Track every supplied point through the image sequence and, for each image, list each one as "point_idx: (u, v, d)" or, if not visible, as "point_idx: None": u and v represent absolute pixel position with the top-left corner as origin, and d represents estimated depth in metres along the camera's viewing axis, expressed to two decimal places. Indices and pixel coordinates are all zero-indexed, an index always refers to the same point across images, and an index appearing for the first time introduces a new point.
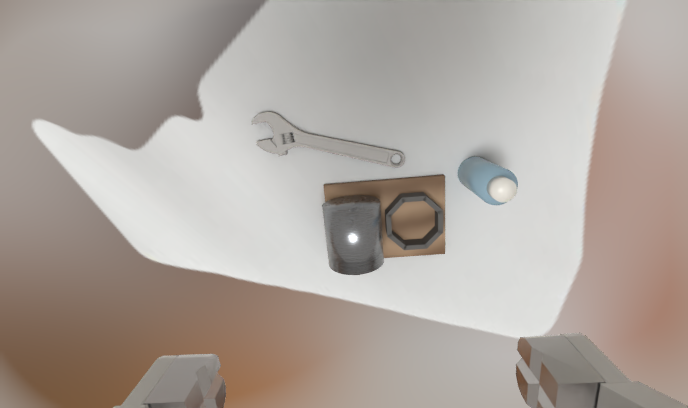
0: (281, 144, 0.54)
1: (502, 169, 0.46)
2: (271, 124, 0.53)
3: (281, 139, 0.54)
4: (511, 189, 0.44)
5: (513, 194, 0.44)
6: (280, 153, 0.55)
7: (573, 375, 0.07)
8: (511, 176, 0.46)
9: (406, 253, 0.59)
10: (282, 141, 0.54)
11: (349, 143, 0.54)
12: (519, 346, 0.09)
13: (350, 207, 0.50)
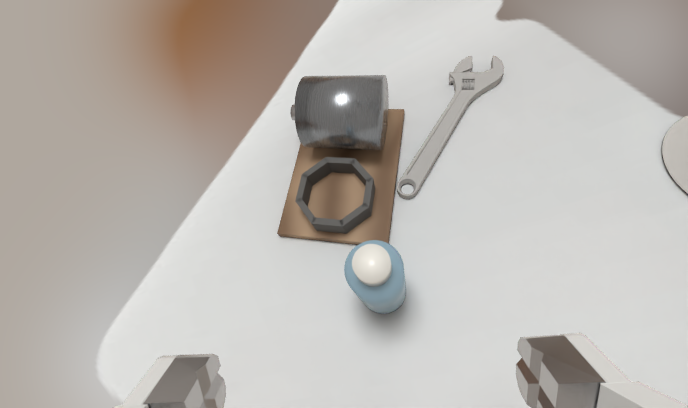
0: (462, 77, 0.48)
1: (400, 277, 0.29)
2: (488, 72, 0.47)
3: (468, 78, 0.47)
4: (370, 273, 0.27)
5: (361, 275, 0.27)
6: (452, 74, 0.48)
7: (573, 375, 0.07)
8: (386, 289, 0.28)
9: (293, 186, 0.45)
10: (465, 79, 0.48)
11: (444, 140, 0.44)
12: (519, 346, 0.09)
13: (382, 100, 0.40)
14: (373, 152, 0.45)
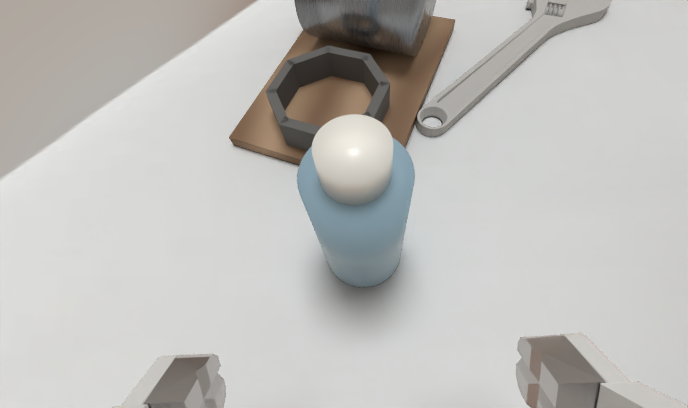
0: None
1: (404, 198, 0.14)
2: (588, 0, 0.32)
3: (556, 3, 0.33)
4: (346, 164, 0.13)
5: (325, 165, 0.13)
6: None
7: (573, 375, 0.07)
8: (370, 215, 0.14)
9: None
10: (552, 4, 0.33)
11: (503, 69, 0.29)
12: (519, 346, 0.09)
13: None
14: (398, 62, 0.31)
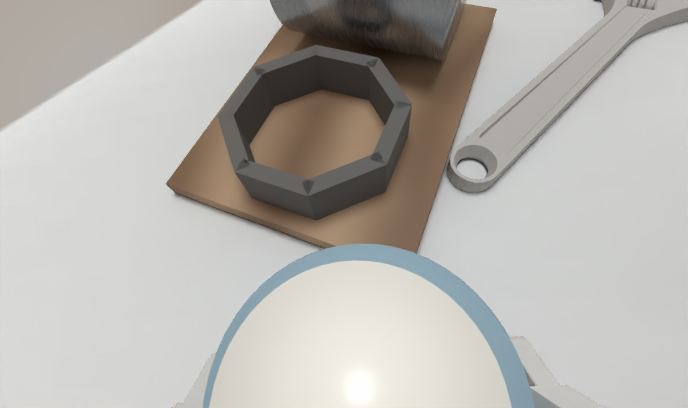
0: None
1: None
2: None
3: None
4: None
5: None
6: None
7: None
8: None
9: None
10: None
11: (578, 87, 0.19)
12: None
13: None
14: (419, 69, 0.21)
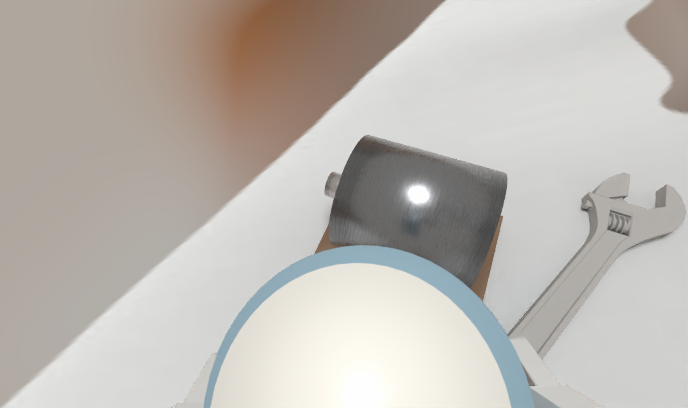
0: (610, 207, 0.29)
1: None
2: (657, 212, 0.28)
3: (619, 212, 0.29)
4: None
5: None
6: (594, 196, 0.29)
7: None
8: None
9: None
10: (614, 212, 0.29)
11: (567, 319, 0.25)
12: None
13: None
14: None
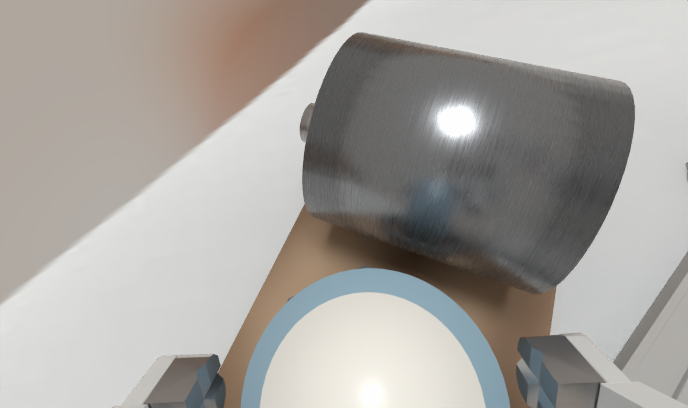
0: None
1: None
2: None
3: None
4: None
5: None
6: None
7: (573, 375, 0.07)
8: None
9: (262, 308, 0.17)
10: None
11: None
12: (519, 346, 0.09)
13: None
14: None
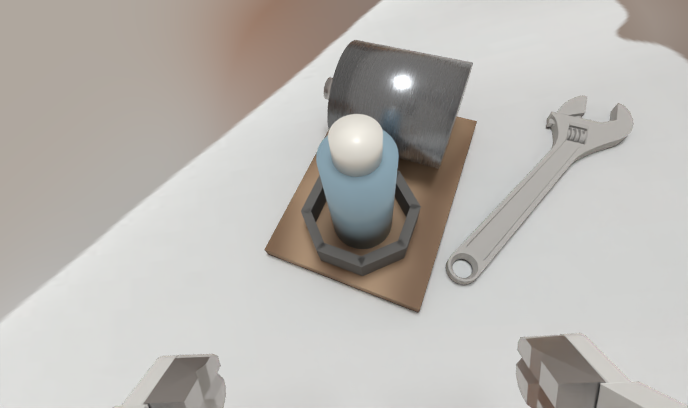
0: (570, 122, 0.33)
1: (391, 172, 0.20)
2: (609, 124, 0.32)
3: (577, 126, 0.33)
4: (351, 147, 0.19)
5: (337, 148, 0.19)
6: (555, 115, 0.34)
7: (573, 375, 0.07)
8: (367, 183, 0.20)
9: (302, 189, 0.32)
10: (573, 126, 0.33)
11: (530, 208, 0.29)
12: (519, 346, 0.09)
13: None
14: (424, 168, 0.32)
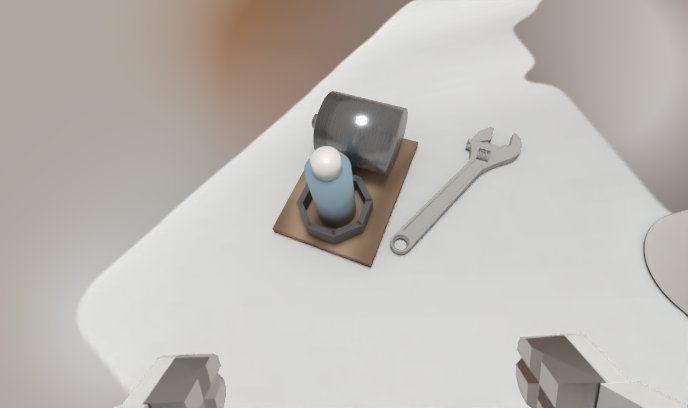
0: (479, 146, 0.48)
1: (346, 178, 0.36)
2: (505, 148, 0.48)
3: (484, 149, 0.48)
4: (322, 165, 0.35)
5: (315, 166, 0.35)
6: (471, 141, 0.49)
7: (573, 375, 0.07)
8: (332, 185, 0.36)
9: (298, 189, 0.48)
10: (482, 149, 0.48)
11: (446, 205, 0.44)
12: (519, 346, 0.09)
13: (397, 131, 0.42)
14: (379, 175, 0.48)
